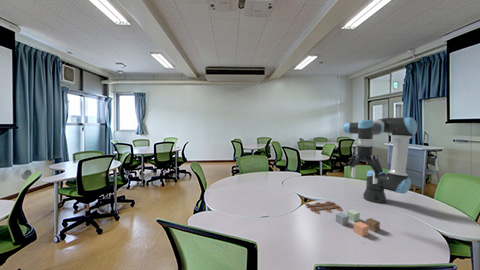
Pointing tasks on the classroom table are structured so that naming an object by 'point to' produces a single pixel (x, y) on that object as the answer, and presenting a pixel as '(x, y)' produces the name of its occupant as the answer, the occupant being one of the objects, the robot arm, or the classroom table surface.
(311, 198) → the classroom table surface
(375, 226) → the walnut block
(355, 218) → the sage block
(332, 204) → the decorative fence
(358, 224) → the terracotta block
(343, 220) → the slate block
